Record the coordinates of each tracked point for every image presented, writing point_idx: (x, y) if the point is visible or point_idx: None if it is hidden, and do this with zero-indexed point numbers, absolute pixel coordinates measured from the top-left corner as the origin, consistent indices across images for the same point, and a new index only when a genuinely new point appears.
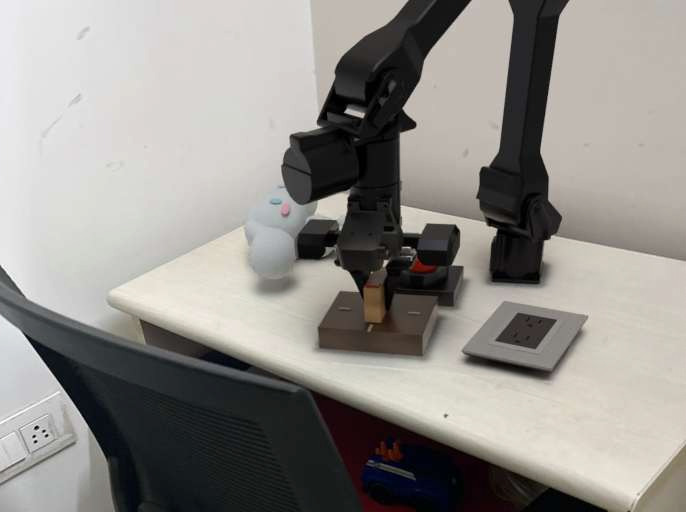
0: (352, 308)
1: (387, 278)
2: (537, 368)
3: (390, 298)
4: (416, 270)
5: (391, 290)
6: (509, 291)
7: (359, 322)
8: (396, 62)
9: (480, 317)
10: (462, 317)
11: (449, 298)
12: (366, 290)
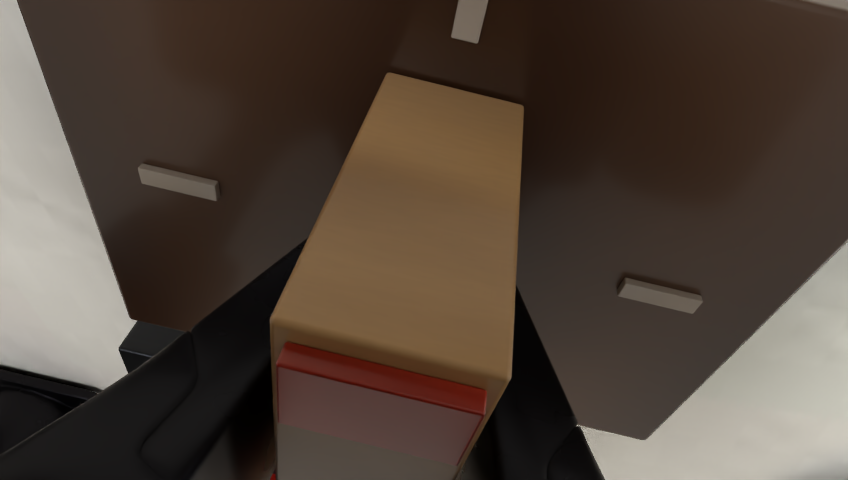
0: (601, 293)
1: (191, 458)
2: None
3: (279, 272)
4: (272, 476)
5: (226, 325)
6: (21, 343)
7: (573, 106)
8: None
9: (19, 217)
10: (89, 226)
11: (152, 327)
12: (470, 336)
